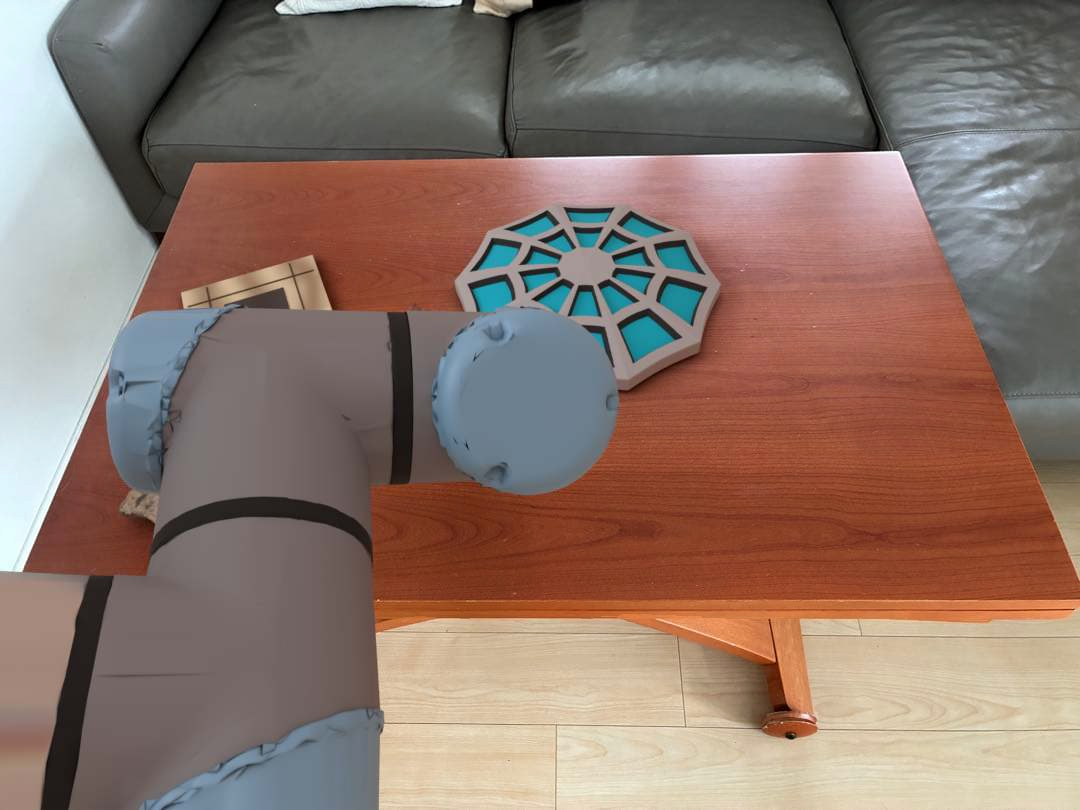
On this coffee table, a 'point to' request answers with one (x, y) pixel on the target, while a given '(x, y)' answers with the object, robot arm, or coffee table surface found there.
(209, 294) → the game board
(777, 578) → the coffee table surface
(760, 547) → the coffee table surface
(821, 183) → the coffee table surface
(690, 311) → the decorative platform
